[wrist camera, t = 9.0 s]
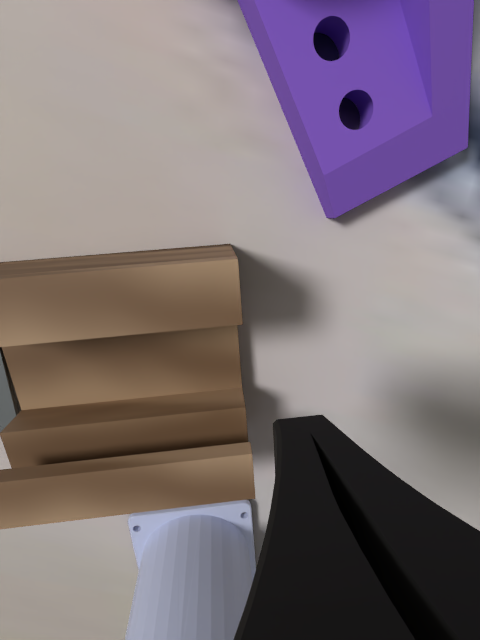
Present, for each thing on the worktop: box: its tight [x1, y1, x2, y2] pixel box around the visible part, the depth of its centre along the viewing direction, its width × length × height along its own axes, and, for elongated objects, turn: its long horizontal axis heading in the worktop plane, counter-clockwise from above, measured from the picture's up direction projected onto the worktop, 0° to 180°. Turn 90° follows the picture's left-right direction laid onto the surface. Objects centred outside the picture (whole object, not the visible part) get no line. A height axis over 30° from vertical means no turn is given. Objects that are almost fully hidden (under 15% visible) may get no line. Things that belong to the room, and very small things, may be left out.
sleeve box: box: [0, 244, 255, 529], centre depth 16 cm, size 11×12×6 cm
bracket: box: [238, 0, 474, 218], centre depth 13 cm, size 12×7×7 cm, turn 27°
